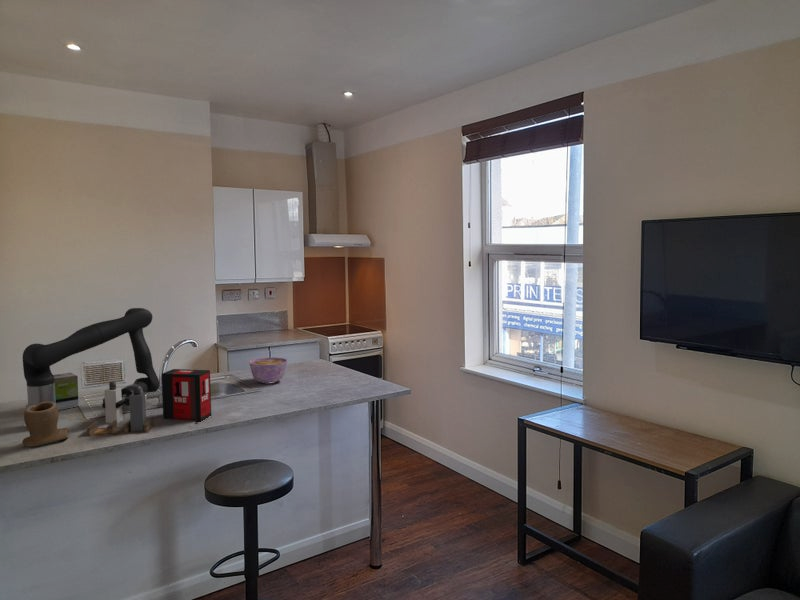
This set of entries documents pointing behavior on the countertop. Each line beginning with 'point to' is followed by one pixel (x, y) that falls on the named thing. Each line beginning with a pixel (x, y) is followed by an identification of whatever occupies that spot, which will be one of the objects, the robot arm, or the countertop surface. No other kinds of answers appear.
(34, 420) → the stone cup
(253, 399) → the countertop surface
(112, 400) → the white square bottle
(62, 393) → the tea box
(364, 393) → the countertop surface
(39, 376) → the robot arm
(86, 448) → the countertop surface
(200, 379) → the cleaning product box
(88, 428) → the comb rack
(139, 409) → the grey square bottle
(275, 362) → the bowl of food
